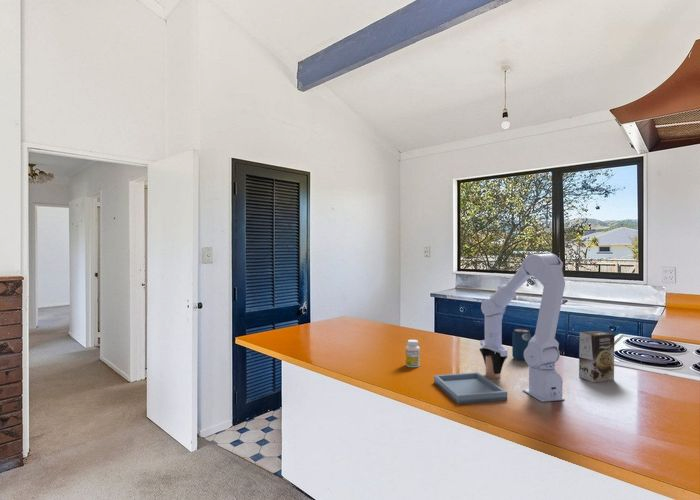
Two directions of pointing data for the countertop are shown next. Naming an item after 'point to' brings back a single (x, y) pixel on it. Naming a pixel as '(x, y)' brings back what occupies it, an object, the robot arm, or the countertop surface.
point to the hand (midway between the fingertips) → (493, 370)
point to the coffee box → (596, 356)
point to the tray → (470, 388)
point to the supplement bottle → (412, 354)
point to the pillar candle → (490, 369)
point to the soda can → (520, 343)
